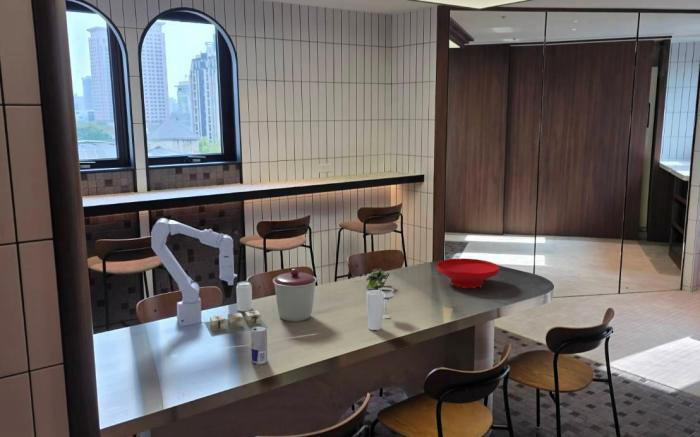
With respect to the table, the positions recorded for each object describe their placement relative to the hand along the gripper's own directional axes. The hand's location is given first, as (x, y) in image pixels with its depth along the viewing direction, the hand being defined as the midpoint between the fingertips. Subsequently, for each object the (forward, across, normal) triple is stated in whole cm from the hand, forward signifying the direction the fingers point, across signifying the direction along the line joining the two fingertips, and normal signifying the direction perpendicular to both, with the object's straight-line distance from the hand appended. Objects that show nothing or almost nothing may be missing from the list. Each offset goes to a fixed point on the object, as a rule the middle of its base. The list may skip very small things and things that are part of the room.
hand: (227, 297), depth 231 cm
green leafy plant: (+10, +15, -77) cm, 79 cm away
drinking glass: (+10, -33, -51) cm, 61 cm away
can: (+10, +9, -9) cm, 16 cm away
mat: (+9, -9, -1) cm, 13 cm away
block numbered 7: (+9, -9, -8) cm, 15 cm away
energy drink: (+10, -45, -1) cm, 46 cm away
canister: (+10, -9, -26) cm, 29 cm away
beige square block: (+9, -9, +6) cm, 14 cm away
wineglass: (+10, -23, -61) cm, 66 cm away
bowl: (+10, +3, -121) cm, 121 cm away
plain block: (+9, -9, -1) cm, 13 cm away
